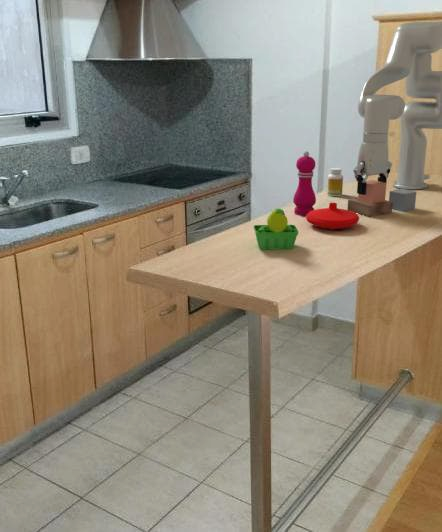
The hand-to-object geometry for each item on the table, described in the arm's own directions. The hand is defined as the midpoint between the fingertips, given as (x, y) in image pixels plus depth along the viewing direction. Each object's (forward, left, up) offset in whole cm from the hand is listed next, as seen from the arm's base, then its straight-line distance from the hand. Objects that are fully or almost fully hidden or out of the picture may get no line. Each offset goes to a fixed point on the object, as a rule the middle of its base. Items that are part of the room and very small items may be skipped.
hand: (371, 191), depth 193 cm
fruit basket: (+49, +9, -7) cm, 50 cm away
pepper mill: (+18, -12, -7) cm, 23 cm away
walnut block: (0, 0, -7) cm, 7 cm away
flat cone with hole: (+22, +4, -7) cm, 23 cm away
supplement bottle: (-9, -24, -7) cm, 26 cm away
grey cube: (-11, +4, -7) cm, 13 cm away
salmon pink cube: (0, 0, -3) cm, 3 cm away
